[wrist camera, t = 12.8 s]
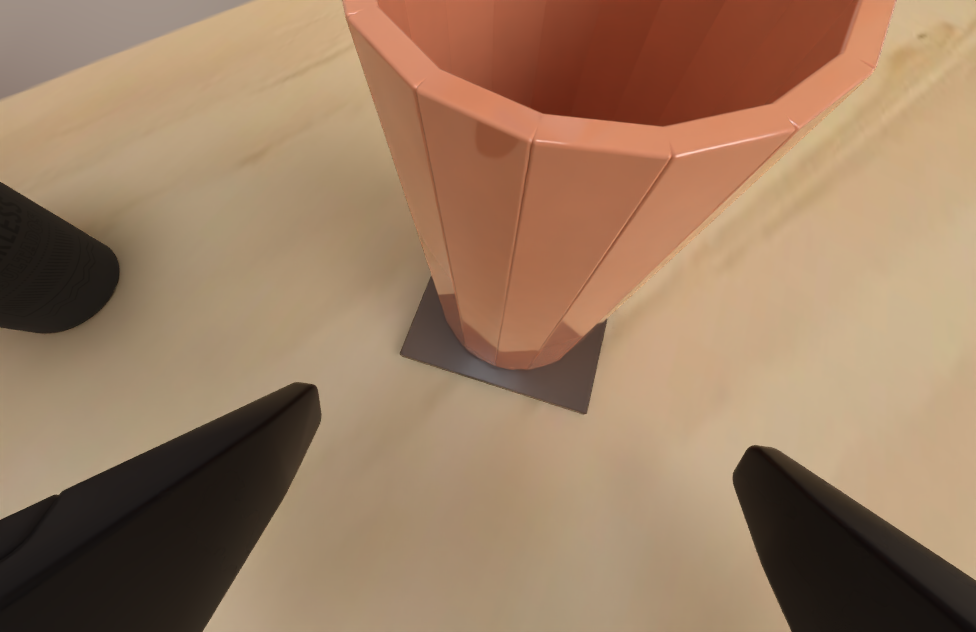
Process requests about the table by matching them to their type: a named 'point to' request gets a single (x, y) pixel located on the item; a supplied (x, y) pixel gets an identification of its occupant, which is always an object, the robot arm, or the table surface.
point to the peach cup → (589, 139)
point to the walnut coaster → (550, 383)
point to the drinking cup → (49, 269)
